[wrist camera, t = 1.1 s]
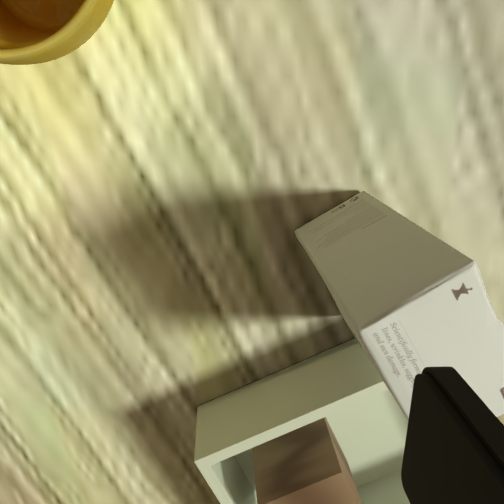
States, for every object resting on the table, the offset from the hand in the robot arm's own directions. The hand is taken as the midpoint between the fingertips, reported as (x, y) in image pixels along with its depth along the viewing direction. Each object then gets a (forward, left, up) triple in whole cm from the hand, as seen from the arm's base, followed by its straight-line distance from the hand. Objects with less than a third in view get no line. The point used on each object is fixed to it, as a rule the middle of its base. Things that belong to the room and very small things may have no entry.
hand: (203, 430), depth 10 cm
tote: (-2, +21, -24) cm, 32 cm away
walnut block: (+2, +21, -23) cm, 31 cm away
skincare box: (-7, +8, -24) cm, 26 cm away
